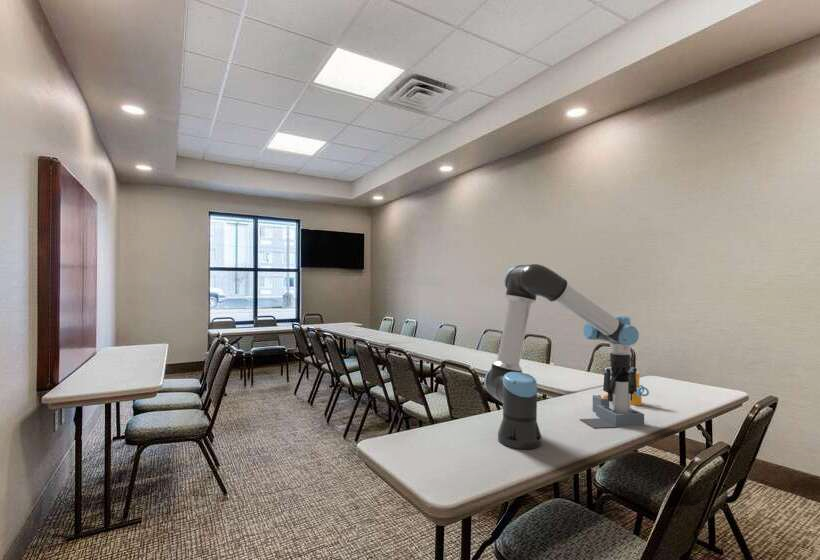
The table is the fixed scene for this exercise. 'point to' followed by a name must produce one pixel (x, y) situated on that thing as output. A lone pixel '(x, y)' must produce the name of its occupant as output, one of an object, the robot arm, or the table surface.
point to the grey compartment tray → (617, 419)
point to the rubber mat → (598, 423)
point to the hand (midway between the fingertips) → (619, 408)
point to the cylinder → (638, 392)
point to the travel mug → (621, 394)
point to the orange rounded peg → (604, 396)
